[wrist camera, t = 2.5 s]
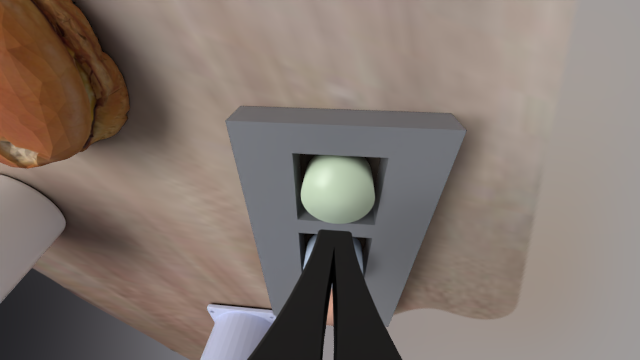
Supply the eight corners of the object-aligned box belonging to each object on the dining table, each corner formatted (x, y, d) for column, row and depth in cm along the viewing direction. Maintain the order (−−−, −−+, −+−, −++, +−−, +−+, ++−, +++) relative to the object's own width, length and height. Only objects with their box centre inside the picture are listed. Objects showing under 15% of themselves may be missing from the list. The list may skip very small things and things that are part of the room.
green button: (367, 203, 16) (369, 226, 14) (306, 199, 16) (302, 221, 14) (376, 149, 13) (380, 169, 12) (304, 145, 13) (298, 165, 12)
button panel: (385, 305, 24) (388, 326, 22) (278, 295, 25) (273, 315, 23) (451, 113, 12) (466, 130, 11) (240, 105, 13) (225, 120, 11)
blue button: (358, 266, 19) (360, 291, 17) (307, 262, 19) (304, 286, 17) (364, 232, 16) (366, 257, 15) (306, 227, 16) (301, 252, 15)
